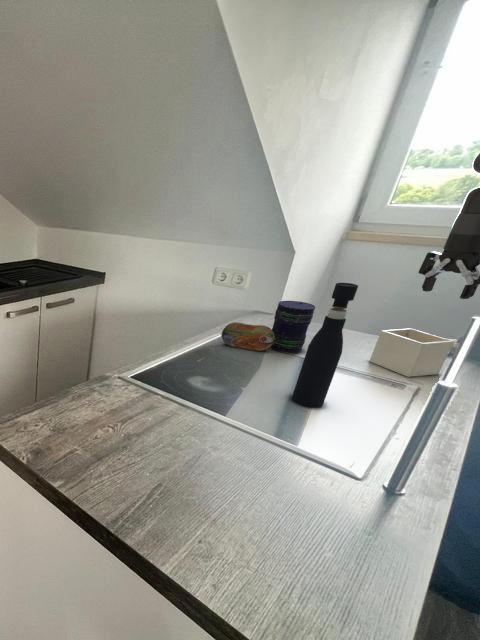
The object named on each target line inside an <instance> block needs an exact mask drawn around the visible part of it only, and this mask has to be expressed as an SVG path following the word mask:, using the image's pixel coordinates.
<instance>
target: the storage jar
mask: <svg viewBox="0 0 480 640" xmlns="http://www.w3.org/2000/svg"><path fill="white" fill-rule="evenodd" d="M315 310H316V306H315V305H314V304H312V303H309V302H305V301H299V300H281V301H279V302H278V303H277V307H276V309H275V314H274V316H273V319H274V321H273V324H272V328H271V330H272V331H273V333H274V336H275V341H274V343H273V345H272V346H271V347H270V348H269V349H270V350H272V351H275V352H278V353H283V354H300V353H301V352H302V351H303V347H304V345H305V343H306V339H307V332H308V328H309V325H310V324H311V323H312V319H313V318H314V313H315Z"/></svg>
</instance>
